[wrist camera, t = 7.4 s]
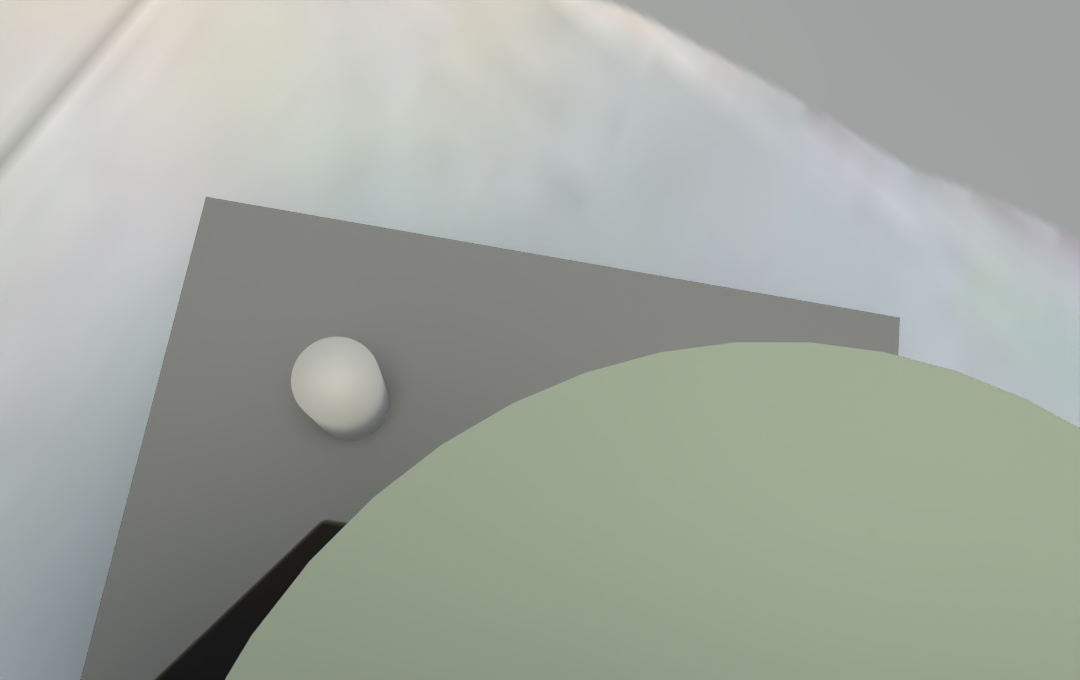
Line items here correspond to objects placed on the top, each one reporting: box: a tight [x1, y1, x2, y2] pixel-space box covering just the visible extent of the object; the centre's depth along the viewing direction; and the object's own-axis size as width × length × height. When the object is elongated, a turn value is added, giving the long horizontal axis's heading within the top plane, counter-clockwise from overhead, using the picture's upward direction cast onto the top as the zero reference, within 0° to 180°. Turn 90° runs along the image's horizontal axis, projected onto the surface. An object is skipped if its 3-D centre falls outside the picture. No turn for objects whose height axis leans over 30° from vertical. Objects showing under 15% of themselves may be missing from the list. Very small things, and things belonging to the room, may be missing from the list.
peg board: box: [81, 197, 900, 680], centre depth 19 cm, size 18×18×4 cm
